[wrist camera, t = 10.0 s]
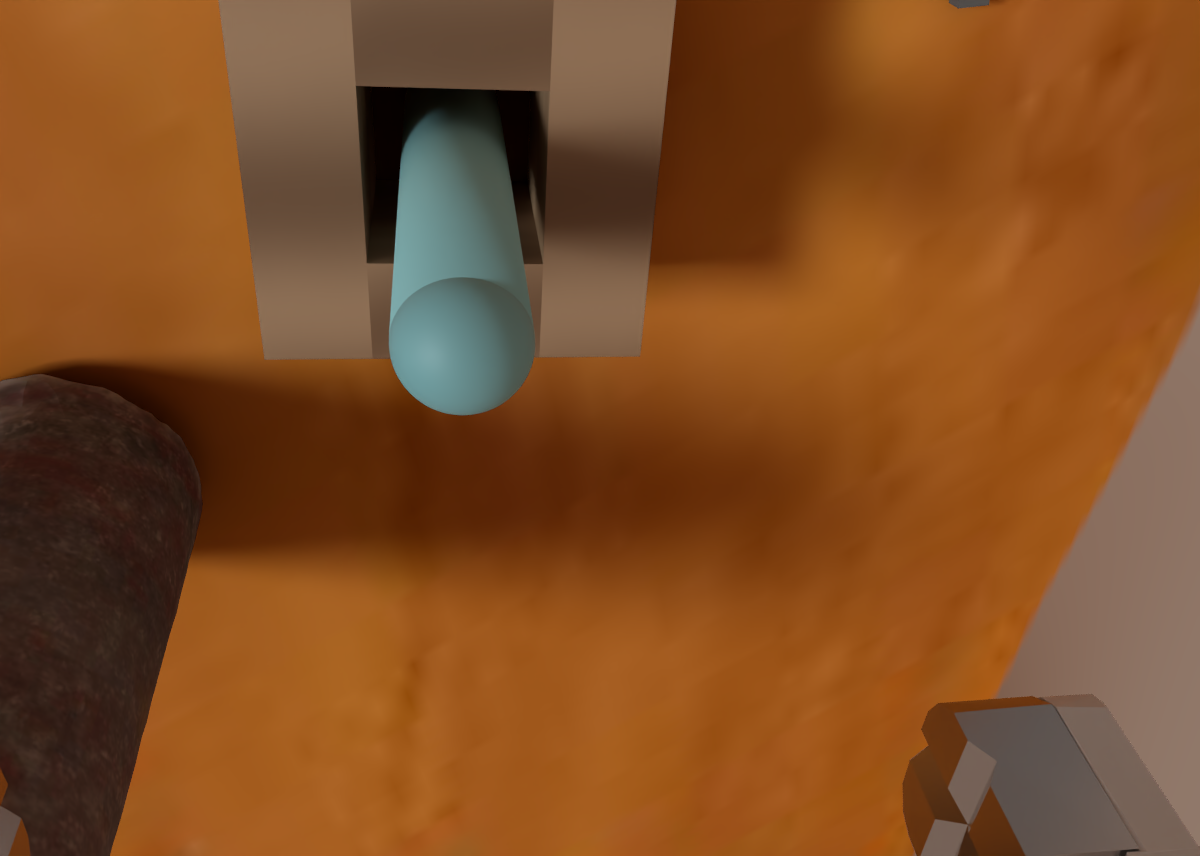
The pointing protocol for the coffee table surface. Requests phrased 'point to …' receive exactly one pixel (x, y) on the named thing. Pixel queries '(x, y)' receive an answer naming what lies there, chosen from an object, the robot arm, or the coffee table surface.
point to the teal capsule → (458, 257)
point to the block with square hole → (369, 207)
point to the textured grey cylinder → (84, 599)
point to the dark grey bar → (968, 3)
